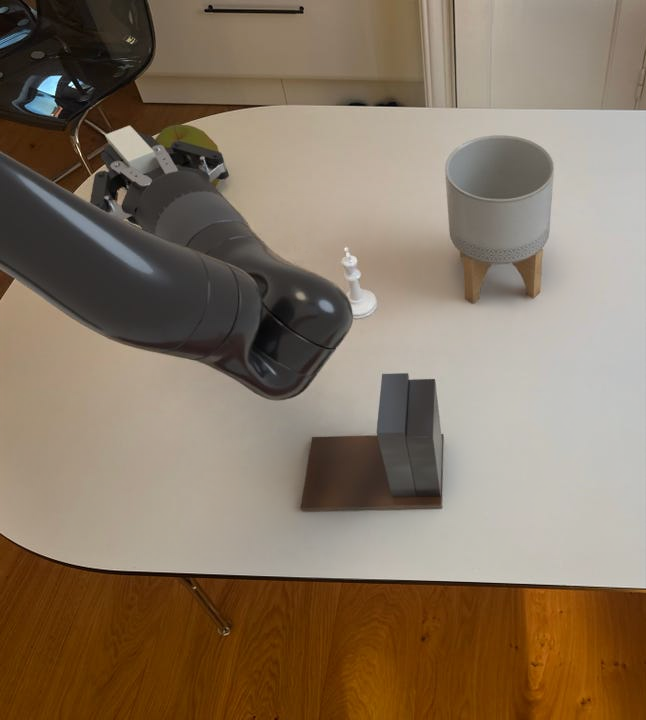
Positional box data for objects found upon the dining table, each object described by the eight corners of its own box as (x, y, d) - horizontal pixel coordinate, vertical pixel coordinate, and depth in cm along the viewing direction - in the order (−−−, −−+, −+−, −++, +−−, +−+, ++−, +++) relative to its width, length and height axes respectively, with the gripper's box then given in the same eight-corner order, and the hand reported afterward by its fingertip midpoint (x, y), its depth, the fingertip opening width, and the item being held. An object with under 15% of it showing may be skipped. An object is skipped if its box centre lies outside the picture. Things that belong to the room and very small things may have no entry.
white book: (172, 256, 76) (127, 161, 67) (150, 228, 79) (104, 134, 70) (194, 245, 77) (154, 151, 68) (171, 219, 80) (129, 125, 71)
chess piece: (371, 288, 96) (360, 231, 89) (381, 312, 93) (371, 256, 86) (336, 298, 95) (322, 241, 88) (345, 323, 92) (331, 266, 85)
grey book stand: (301, 511, 75) (270, 444, 65) (313, 440, 81) (286, 368, 71) (442, 508, 75) (433, 440, 65) (443, 437, 81) (435, 364, 70)
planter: (564, 269, 98) (575, 160, 84) (507, 323, 92) (509, 215, 78) (492, 231, 103) (491, 123, 89) (433, 280, 97) (422, 171, 83)
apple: (155, 186, 112) (127, 124, 103) (211, 161, 116) (188, 100, 107) (183, 216, 107) (156, 154, 98) (240, 190, 111) (219, 128, 102)
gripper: (257, 165, 63) (176, 89, 72) (105, 231, 58) (37, 140, 66) (277, 230, 69) (200, 152, 78) (140, 296, 64) (73, 204, 72)
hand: (125, 147), depth 72 cm, fingers closed on white book, 2 cm apart
